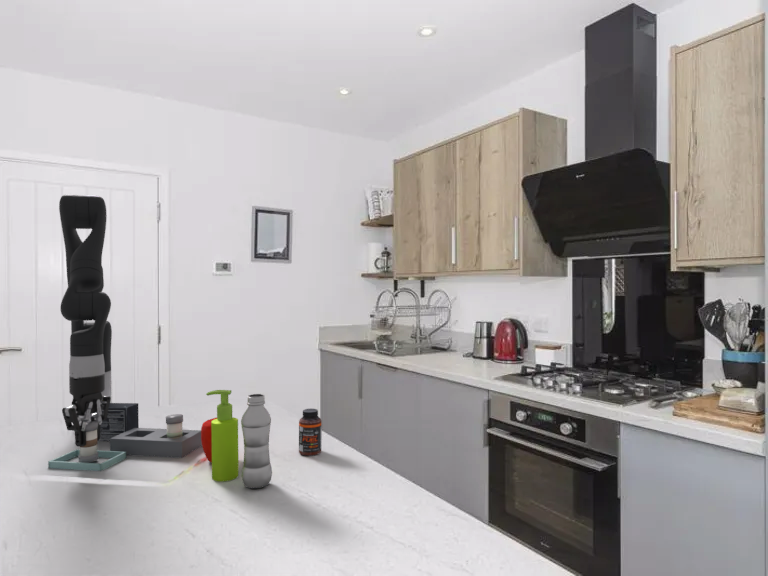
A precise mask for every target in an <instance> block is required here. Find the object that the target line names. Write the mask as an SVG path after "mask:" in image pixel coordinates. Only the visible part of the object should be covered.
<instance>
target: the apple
mask: <svg viewBox="0 0 768 576" xmlns="http://www.w3.org/2000/svg"><path fill="white" fill-rule="evenodd" d="M214 419H217V417H214V418H211V419H207V420H205V421H204V422H202V426H201V428H200V430H201V442H202V446H201V447H202V449H203V452H204V456H205V458H206V460H207V461H208V463H209V462H210V463H211V464H212V431H211V422H212V420H214Z"/></svg>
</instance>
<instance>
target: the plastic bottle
mask: <svg viewBox="0 0 768 576" xmlns="http://www.w3.org/2000/svg"><path fill="white" fill-rule="evenodd" d="M265 399H266V397H265V394H264V393H254V394H253V393H252V394H248V395H247V403H246V404H247V405H246V406H248V407H247V408H246V410H245V411H244V412H243V415H242V417H241V420H240V423H241V425H240V426H241V431H242V436H243V449H244V451H243V465H242V470H241V479H242V480H241V481H242V483H243V485H244V486H245V487H246V488H249V489H260V488H264V487H266V486H268V485H269V484H270V482H271V480H272V476H273V470H272V464H271V459H270V447H269V446H270V444H269V442H270V431H271V423H272V417H271V414H270V412H269V411H268V410H267V408H266V407H265V406H264V405H265V404H266V400H265Z"/></svg>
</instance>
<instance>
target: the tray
mask: <svg viewBox="0 0 768 576" xmlns="http://www.w3.org/2000/svg"><path fill="white" fill-rule="evenodd" d="M97 452H98V458H105V459H107V458H108V459H107V460H105V461H103V462H101V463H99V462H98V463H96V462H89V463H82V462H79V461H77V462H76V461H69V460H72V459H74V458H76V457H79V454H80V452H79V448H77V449H73V450H72V451H69V452H67V453H65V454H63V455H60V456H58V457H56V458H54V459H53V458H52V459H51V460H49V461H48V464H47V465H48V469H59V470H60V469H61V470H63V469H65V470H75V471H76V470H77V471H78V470H79V471H96V472H97V471H98V472H102V471H104V470H106V469H108V468H109V467H111V466H113V465H115V464H118V463H119V462H121V461H124V460H125V459H127V455H126V452H119V451H110V450H99V449H97Z"/></svg>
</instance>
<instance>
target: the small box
mask: <svg viewBox="0 0 768 576" xmlns="http://www.w3.org/2000/svg"><path fill="white" fill-rule="evenodd" d="M102 415H103V410H102ZM94 418H95V417H94ZM133 428H140V427H139V403H136V402H135V403H133V402H130V403H129V402H127V403H126V402H112V403H110V405H109V410H108V415H107V419H106V420H103V421H102V424H101V425H100V433H101V435H100V439H99V440H98V442H110V438H113V437H115V436H117V435H119V434H122V433H124V432H126V431H128V430H131V429H133Z"/></svg>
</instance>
